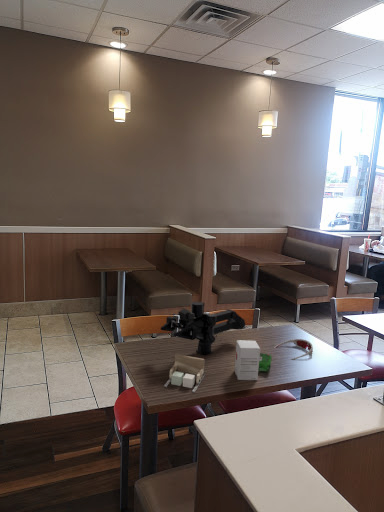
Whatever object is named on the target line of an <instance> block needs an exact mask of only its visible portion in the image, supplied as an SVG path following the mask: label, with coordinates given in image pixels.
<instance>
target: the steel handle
mask: <svg viewBox="0 0 384 512" xmlns="http://www.w3.org/2000/svg"><path fill="white" fill-rule="evenodd" d="M177 372H179V371H177ZM188 374H190V373H188ZM193 375H195V374H193ZM195 376H196V375H195ZM204 378H205V373H204V376H203V377H202V378H201V380H200V382H199V383H196V384H194V385H195V386H193V388H192V391H191V393H196V391H197V389H198V387H199V386H200V384H201V382H202V381H203V379H204ZM171 379H172V378H170V377H169V379H168V380H167V381H166V383H165V384H164V385H163V387H165V388H167V387H168V386H169V384H170V383H171Z"/></svg>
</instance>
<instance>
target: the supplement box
mask: <svg viewBox="0 0 384 512" xmlns="http://www.w3.org/2000/svg"><path fill="white" fill-rule="evenodd" d="M235 344H236V345H235V359H234V360H235V361H234V373H235V376H236V378H237V380H238V381H258V378H259V376H258V375H259V371H258V368H259V357H260V353H261V347H260V346H259V344H258V343H257V341H256V340H245V339H242V340H241V339H239V340H236V343H235Z"/></svg>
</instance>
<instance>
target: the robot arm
mask: <svg viewBox="0 0 384 512" xmlns="http://www.w3.org/2000/svg"><path fill="white" fill-rule="evenodd" d="M190 307H191V309H190V310H189V309H186V308H182V309H180V310H179V311H178V315H179V319H178V321H177V318H175V317H173V316H171V315H170V316H167V317H166V321H165V322H166V323H165V324H163V325H162V326H160V330H161V331H165V332H173V331H175V330H176V328H177V329H178V331H176V332H175V333H173V337H177V338H181V339H186V340H189V341H195V340H197V341H198V343H197V350H195V352H196V353H198V354H200V355H202V356H205V357H206V356H208V355H210V354H213V353H214V351H213V350H212V344H213V343H215V341H216V337H215V335H218V334H221V333H224V332H227V331H230V330H243V329H244V328H245V326H246V321H245V319H244V318H242V316H240V315H239V314H238V313H237V311H235V310H232V309H229V308H228V309H226V310H223V311H219V312H215V313H206V312H205V302H203V301H192V302H191V305H190ZM219 322H220V323H219Z"/></svg>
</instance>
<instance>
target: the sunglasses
mask: <svg viewBox="0 0 384 512" xmlns="http://www.w3.org/2000/svg"><path fill="white" fill-rule="evenodd" d="M291 343H293V345H295V346H296V347H298V348H301V349H304V350H306V349H307V351H308V352H306V353H304V354H302V355H299V356H296V357H292V358H290V360H297V359H299V358H303V357H306V356H309V355H310V356H312V355H313V352H314V351H313V349H314V347H313V344H312V343H311V342H310V340H307V339H302V338H294V339H293V338H292V339H289V340H286V341H283V342H281V343H279V344H277V345H275V346H274V347H273V349H275V348H278V347H279V346H281V345H284V344H291Z"/></svg>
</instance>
